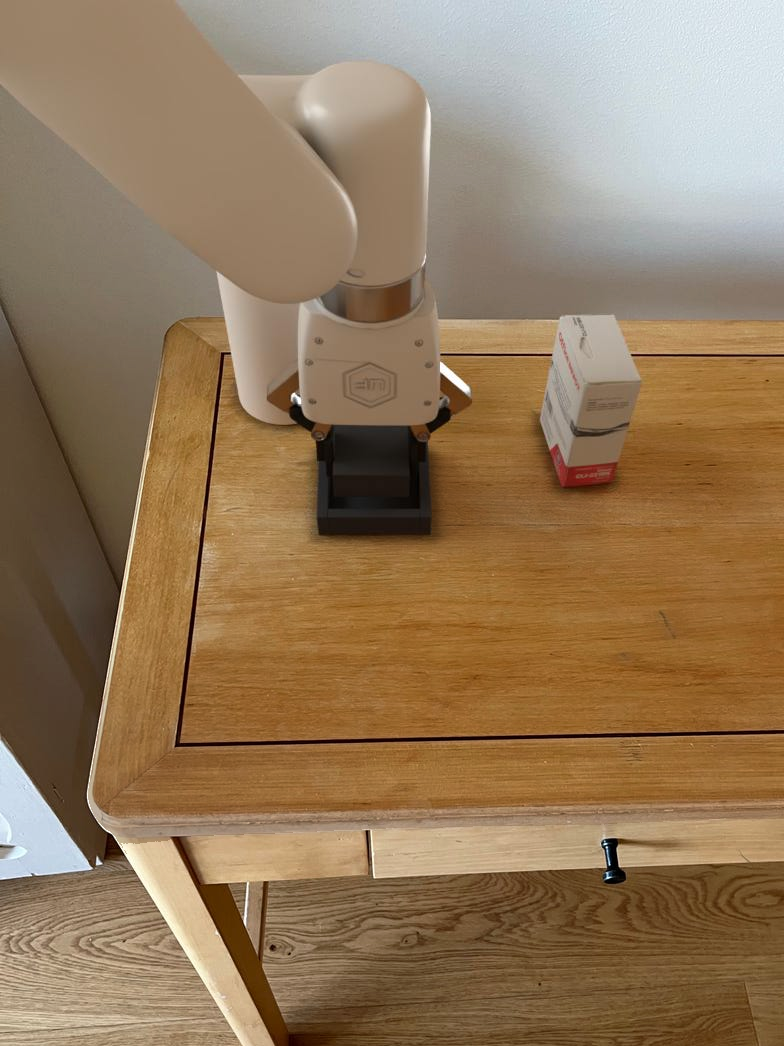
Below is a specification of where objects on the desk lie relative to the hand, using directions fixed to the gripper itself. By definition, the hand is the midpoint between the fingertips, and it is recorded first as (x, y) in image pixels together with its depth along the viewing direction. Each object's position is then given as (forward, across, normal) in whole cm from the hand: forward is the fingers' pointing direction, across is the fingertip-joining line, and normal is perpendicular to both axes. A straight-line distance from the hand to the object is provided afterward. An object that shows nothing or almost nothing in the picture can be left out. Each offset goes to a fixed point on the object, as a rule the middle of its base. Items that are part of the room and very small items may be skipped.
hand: (371, 462), depth 78 cm
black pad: (+1, 0, 0) cm, 1 cm away
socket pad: (+4, 0, 0) cm, 4 cm away
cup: (+4, -8, +12) cm, 15 cm away
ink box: (+4, +18, +5) cm, 19 cm away
